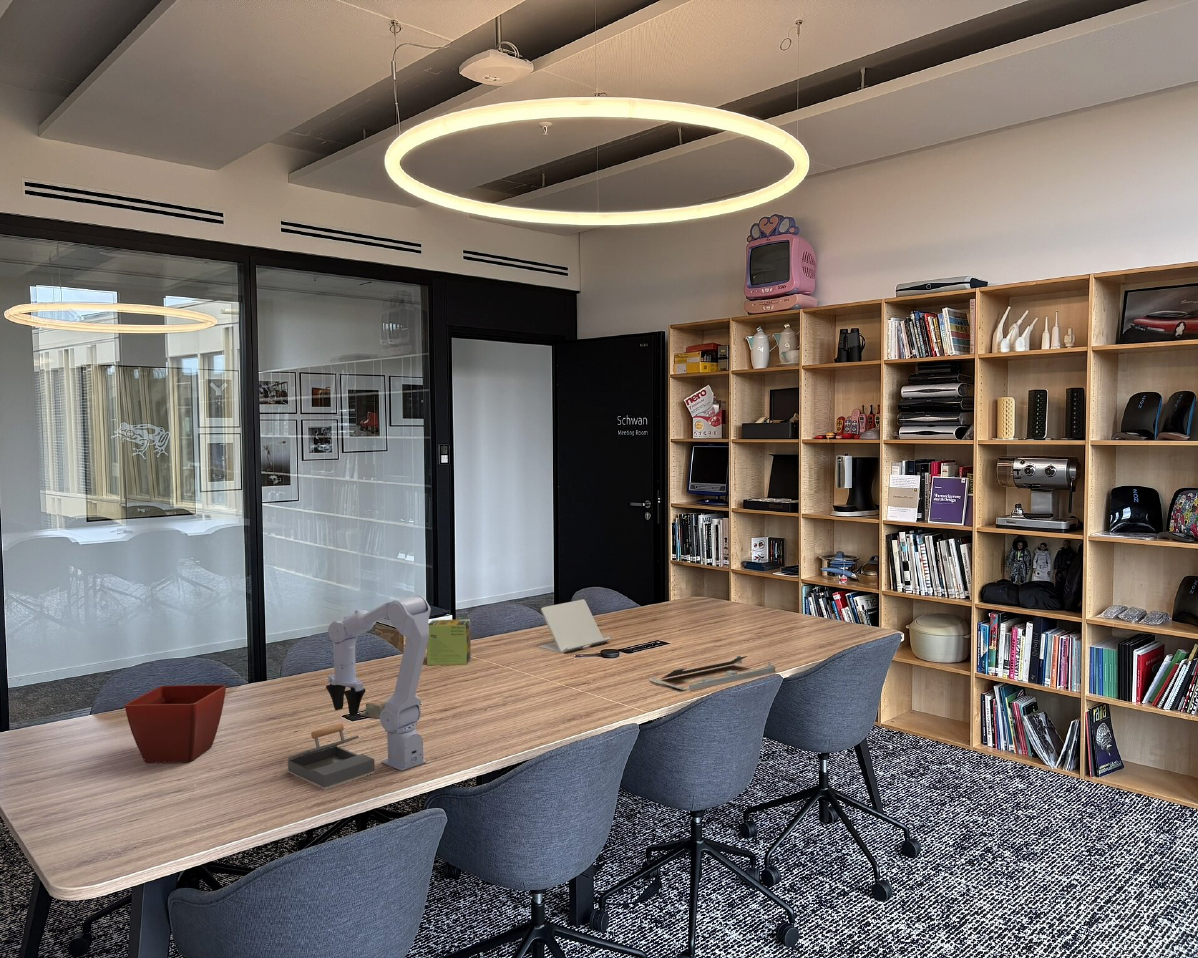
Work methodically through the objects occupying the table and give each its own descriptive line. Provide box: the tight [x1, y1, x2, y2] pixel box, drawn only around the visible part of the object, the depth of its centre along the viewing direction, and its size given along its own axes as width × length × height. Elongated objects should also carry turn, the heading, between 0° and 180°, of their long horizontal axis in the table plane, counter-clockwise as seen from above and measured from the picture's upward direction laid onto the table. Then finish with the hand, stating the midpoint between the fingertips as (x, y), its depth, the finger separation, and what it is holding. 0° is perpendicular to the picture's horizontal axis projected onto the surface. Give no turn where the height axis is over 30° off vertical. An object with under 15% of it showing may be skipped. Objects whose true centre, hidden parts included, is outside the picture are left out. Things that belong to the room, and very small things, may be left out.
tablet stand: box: [538, 598, 611, 654], centre depth 360 cm, size 18×25×17 cm
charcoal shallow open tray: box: [287, 745, 376, 791], centre depth 224 cm, size 18×14×4 cm
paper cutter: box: [649, 655, 776, 691], centre depth 308 cm, size 18×45×6 cm, turn 123°
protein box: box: [426, 618, 472, 666], centre depth 336 cm, size 10×15×16 cm
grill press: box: [287, 723, 359, 761], centre depth 226 cm, size 12×14×5 cm
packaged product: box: [359, 692, 394, 720], centre depth 277 cm, size 18×5×10 cm
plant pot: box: [124, 684, 227, 764], centre depth 238 cm, size 19×19×17 cm
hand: (346, 712), depth 240 cm, fingers open, 7 cm apart
